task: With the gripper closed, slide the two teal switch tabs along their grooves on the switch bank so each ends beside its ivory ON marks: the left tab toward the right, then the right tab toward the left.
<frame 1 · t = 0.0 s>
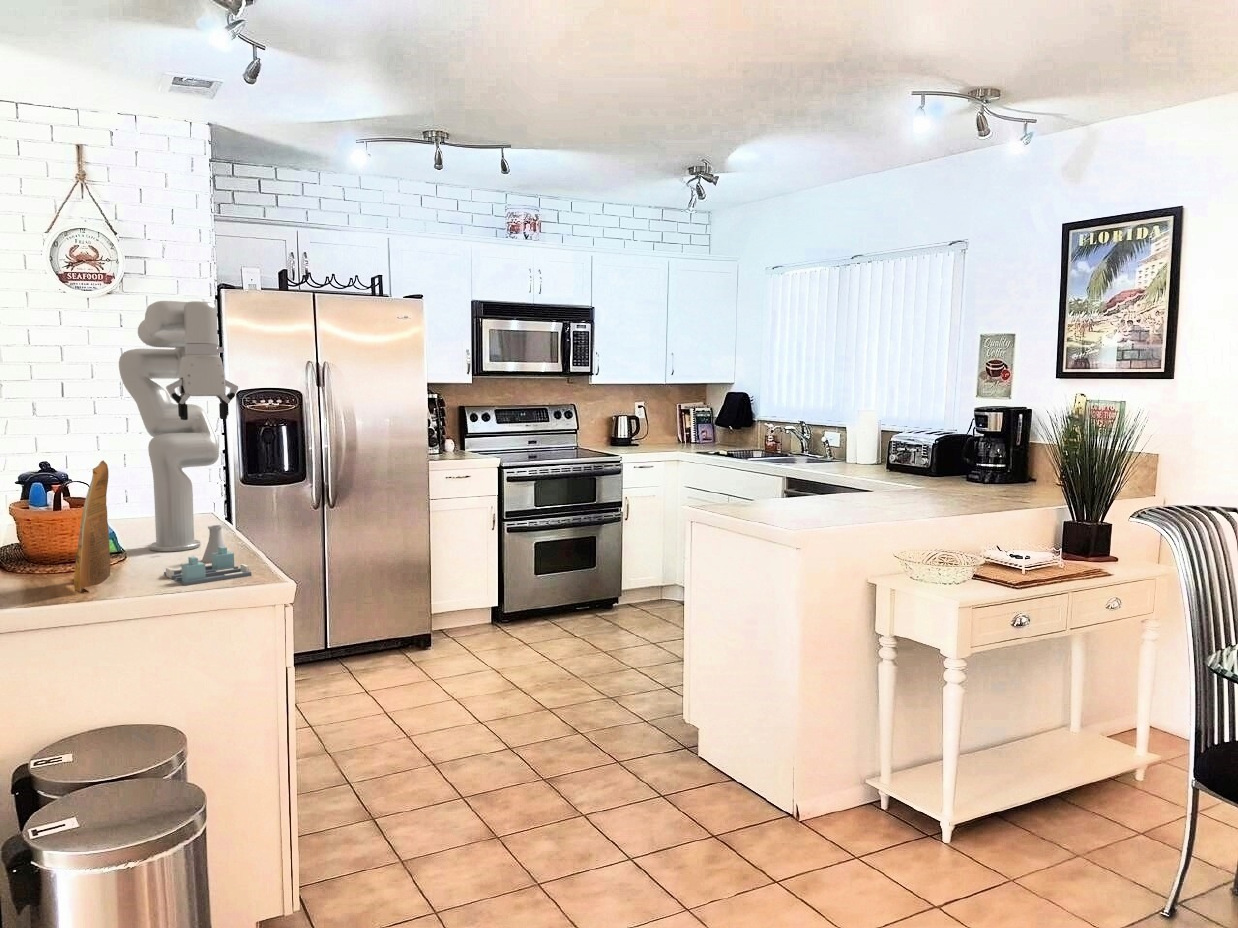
hand: (204, 419, 227), 37 cm above the countertop, tool pointing down, fingers open, 9 cm apart
flask: (216, 565, 227), on the countertop
pancake mix bag: (96, 585, 204), on the countertop
tab b: (193, 569, 204), point 4 cm above the countertop, slide at 0.0 cm
switch bank: (207, 580, 210), on the countertop
tab a: (222, 558, 216), point 4 cm above the countertop, slide at 0.0 cm
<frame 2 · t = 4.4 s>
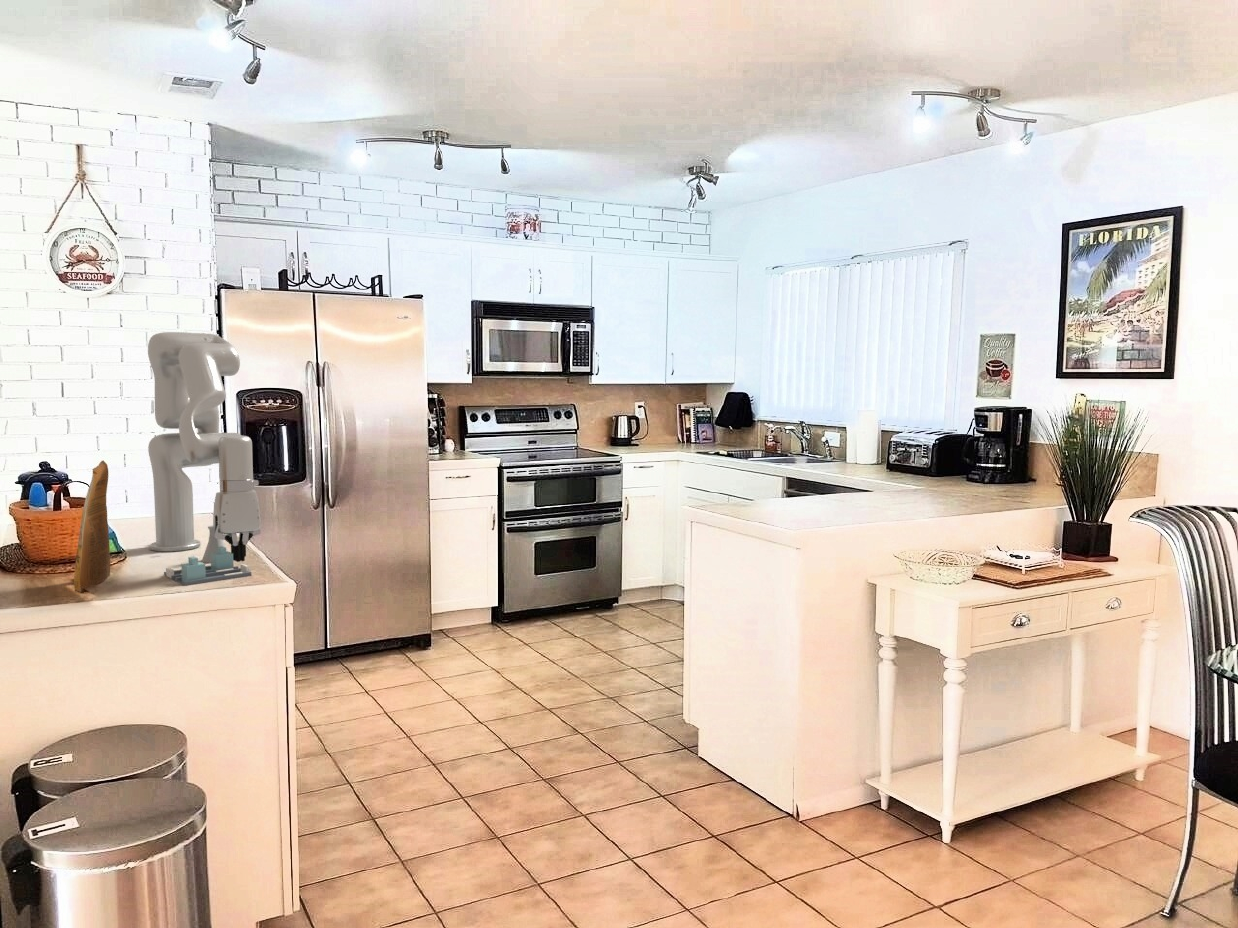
hand: (238, 560, 219), 3 cm above the countertop, tool pointing down, fingers closed
tab a: (222, 558, 216), point 4 cm above the countertop, slide at 0.2 cm, touching gripper
everything else where it was.
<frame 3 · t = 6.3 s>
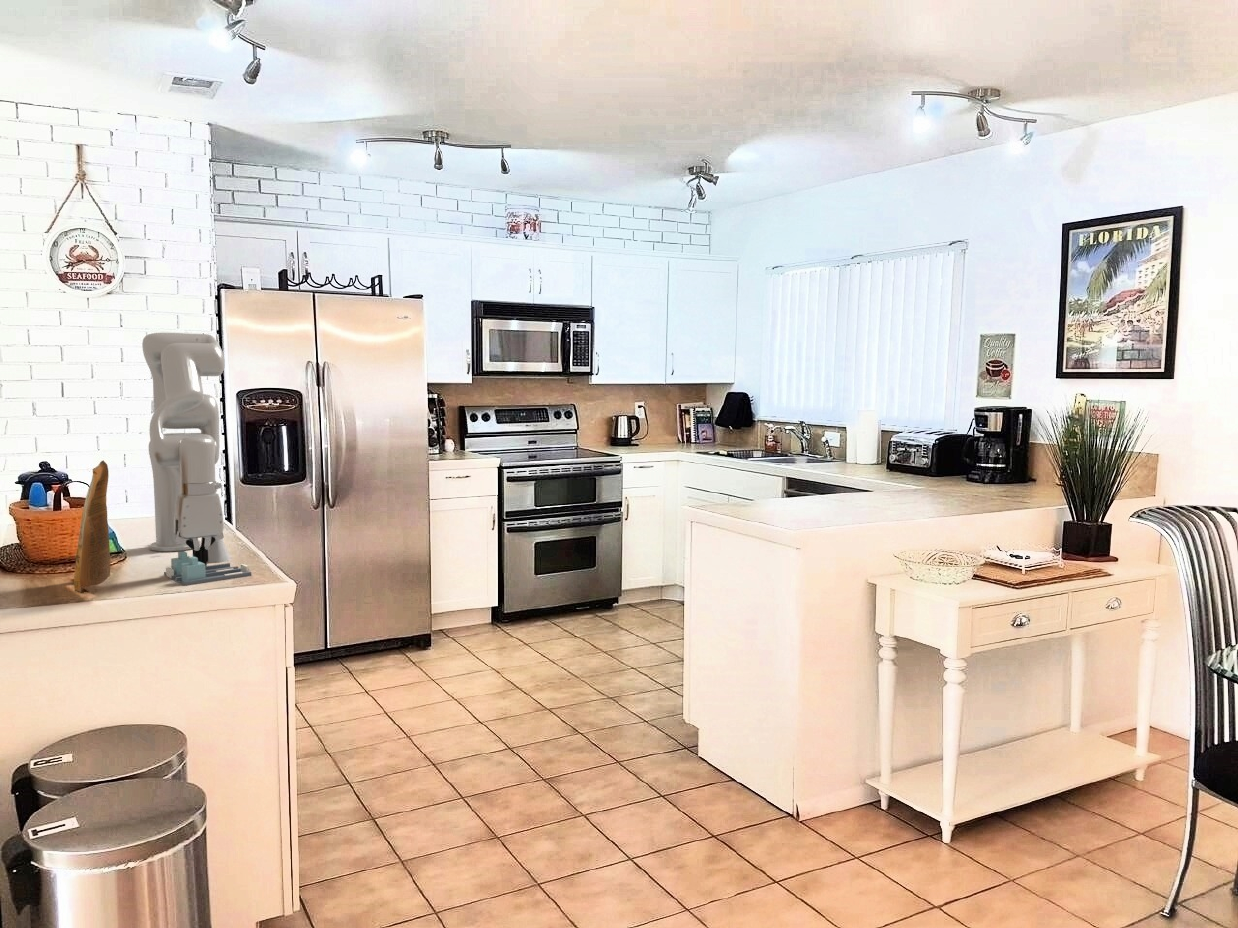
hand: (200, 565, 212), 3 cm above the countertop, tool pointing down, fingers closed
tab a: (183, 563, 209), point 4 cm above the countertop, slide at 9.2 cm, touching gripper
everything else where it was.
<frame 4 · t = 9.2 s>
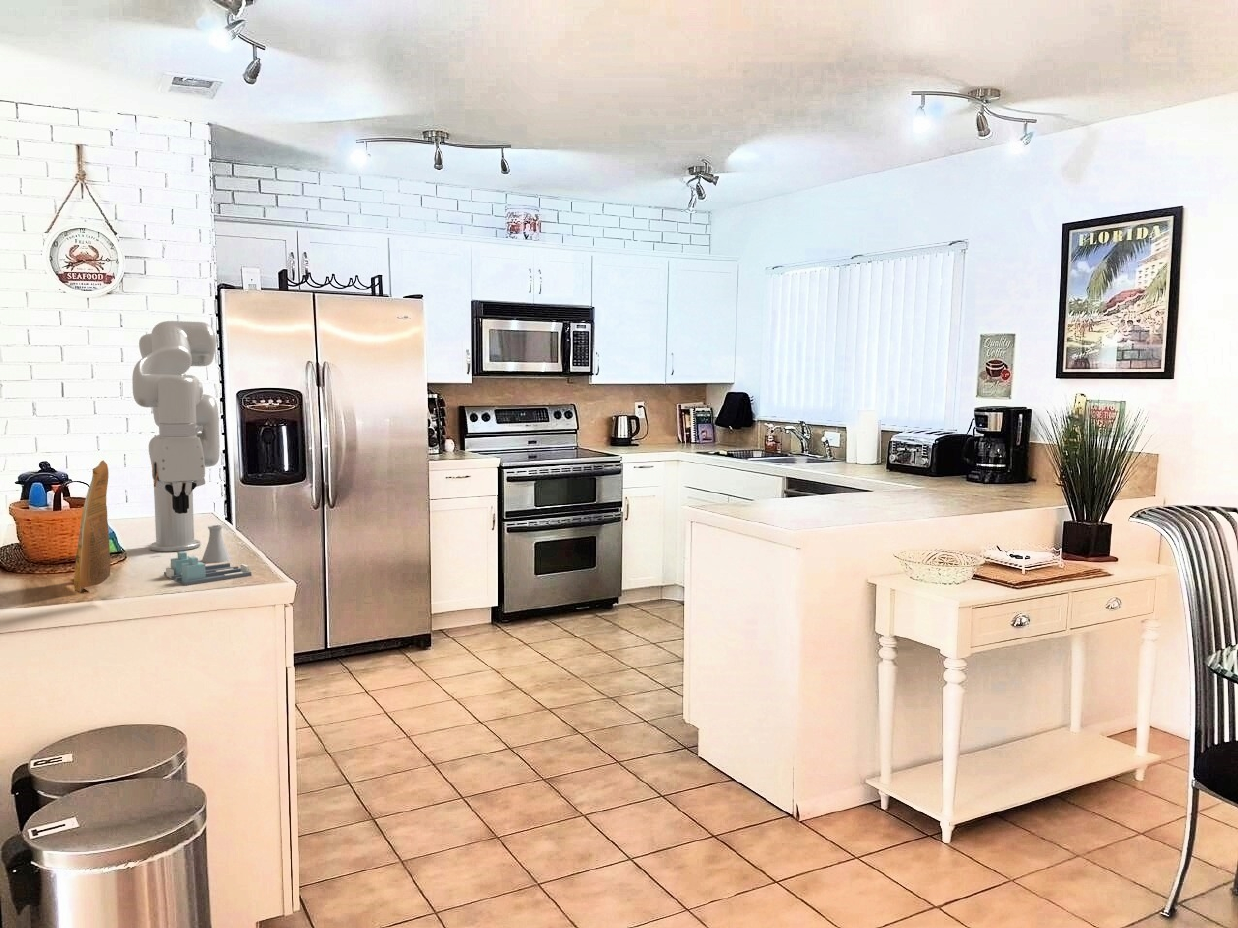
hand: (181, 512, 201), 17 cm above the countertop, tool pointing down, fingers closed
tab a: (182, 563, 209), point 4 cm above the countertop, slide at 9.3 cm
everything else where it was.
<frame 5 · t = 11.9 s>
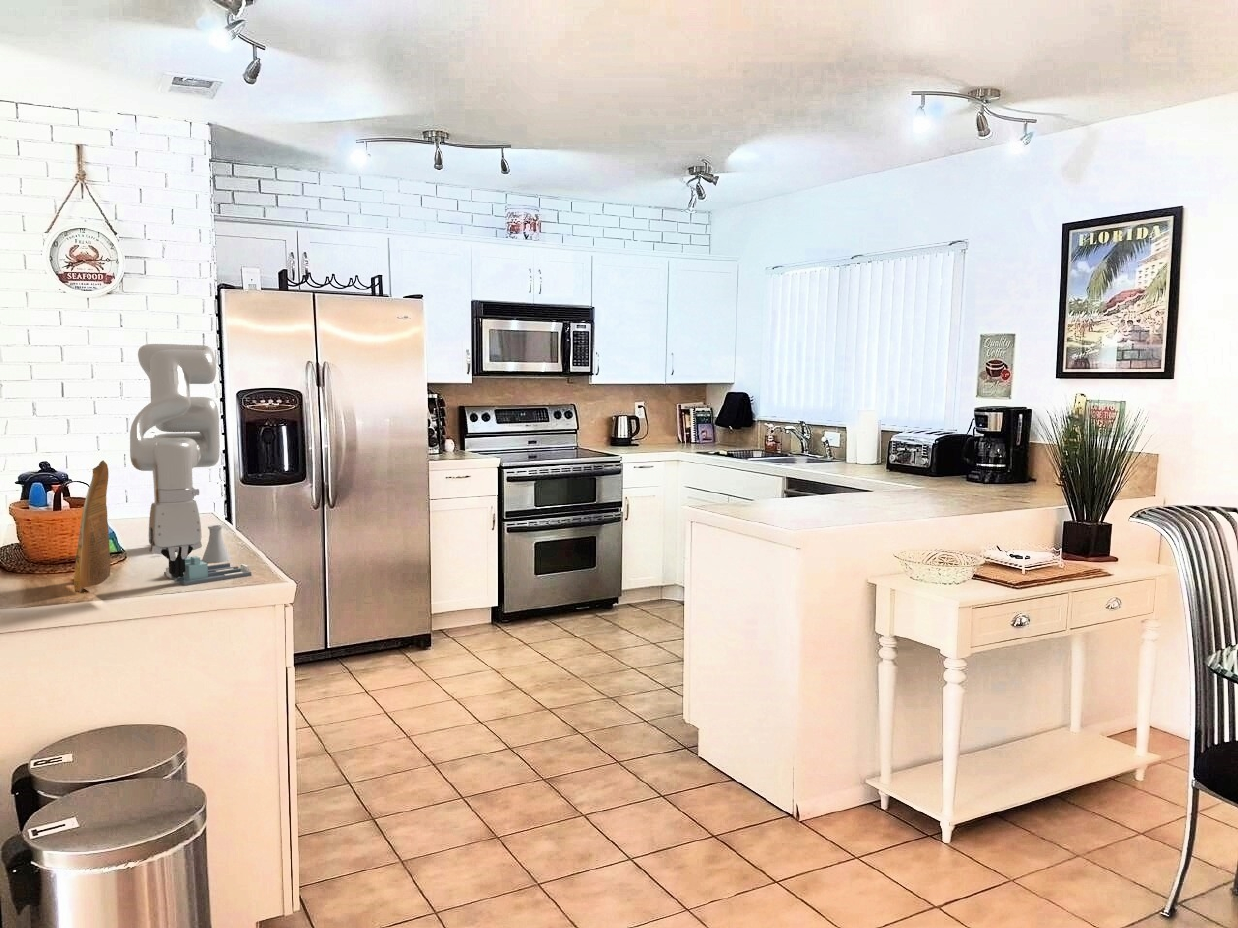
hand: (177, 576, 202), 3 cm above the countertop, tool pointing down, fingers closed
tab b: (195, 568, 204), point 4 cm above the countertop, slide at 0.5 cm, touching gripper
everything else where it was.
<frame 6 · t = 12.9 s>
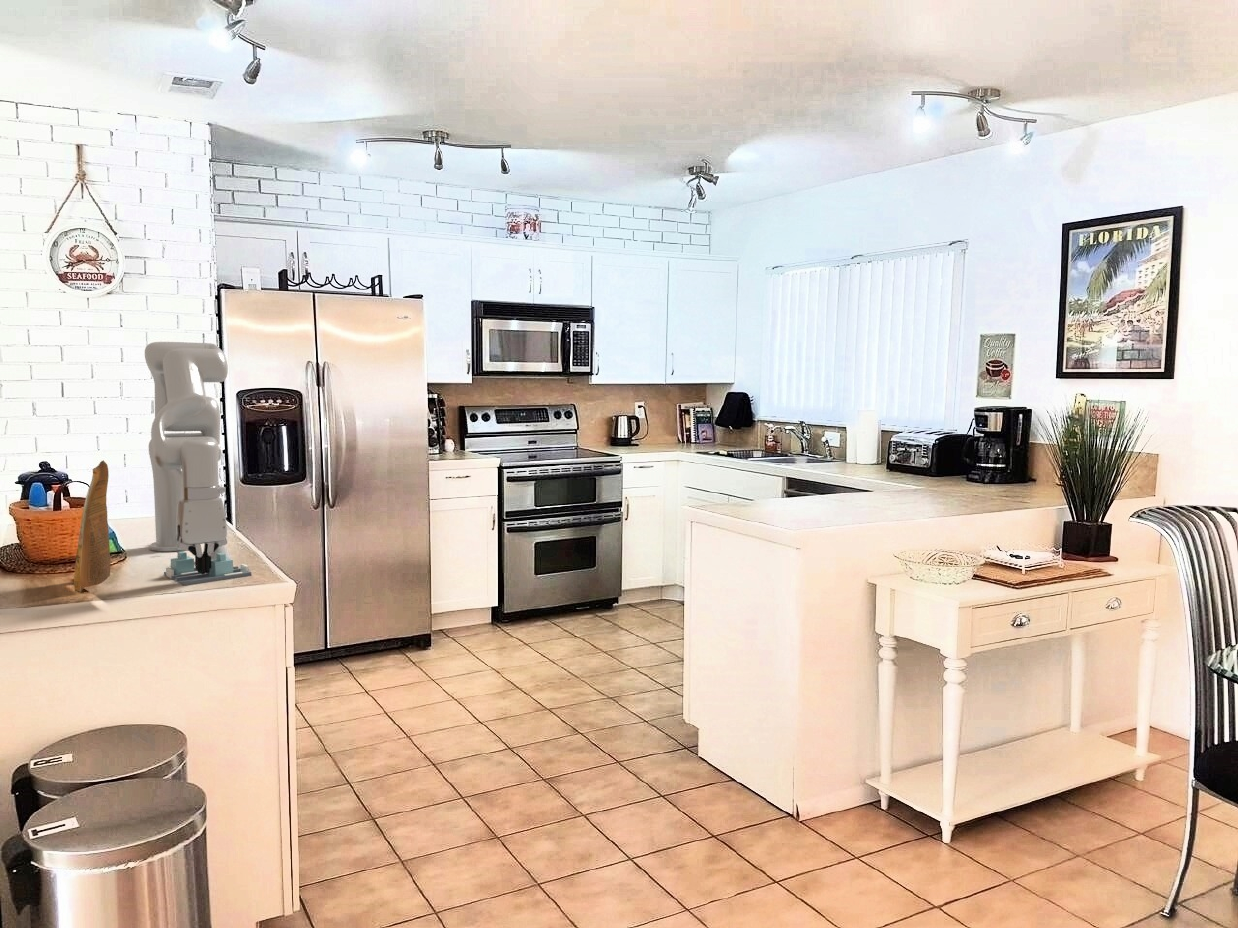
hand: (203, 572, 206), 3 cm above the countertop, tool pointing down, fingers closed
tab b: (221, 565, 208), point 4 cm above the countertop, slide at 6.2 cm, touching gripper
everything else where it was.
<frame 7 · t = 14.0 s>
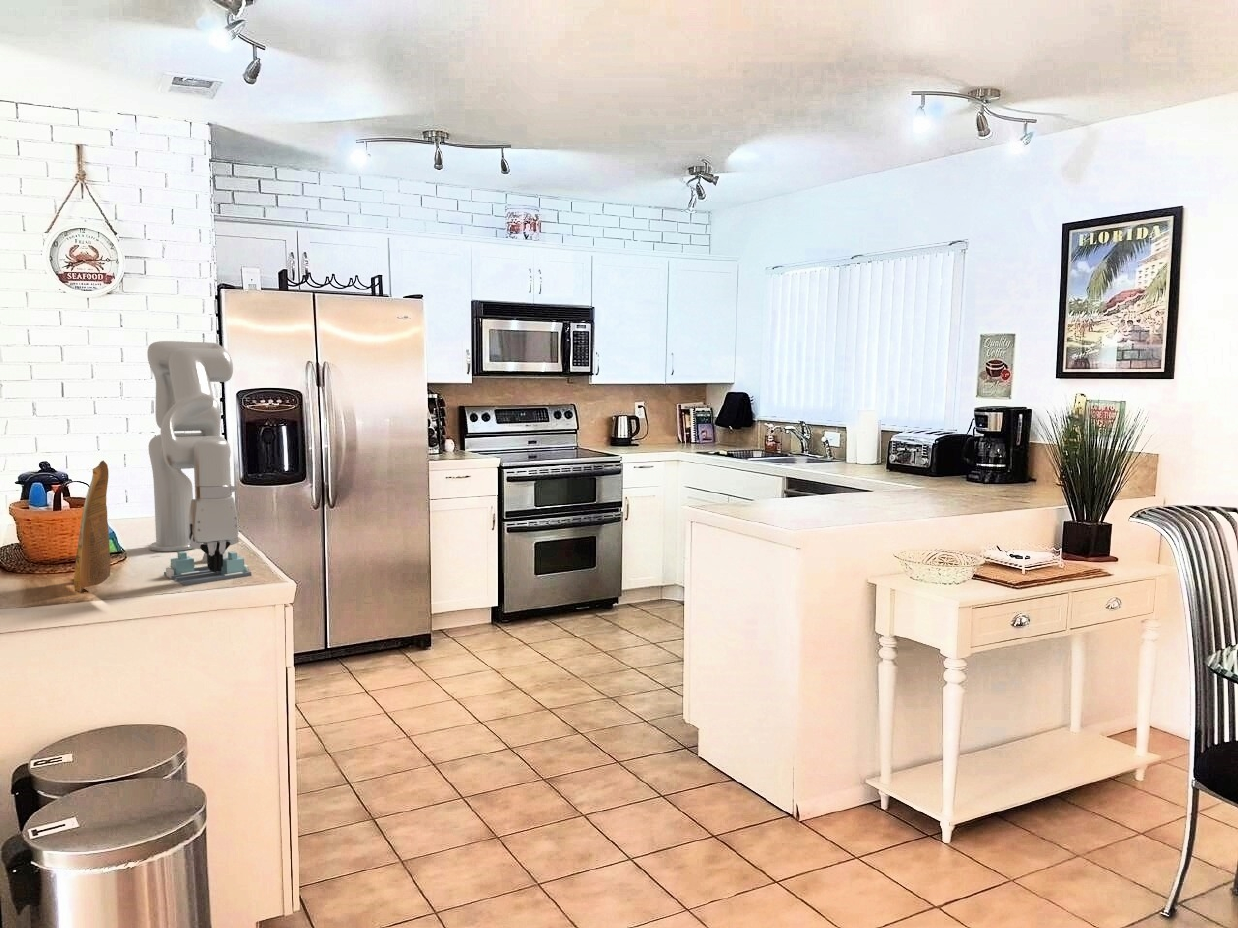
hand: (215, 570, 207), 3 cm above the countertop, tool pointing down, fingers closed
tab b: (232, 563, 210), point 4 cm above the countertop, slide at 8.9 cm, touching gripper
everything else where it was.
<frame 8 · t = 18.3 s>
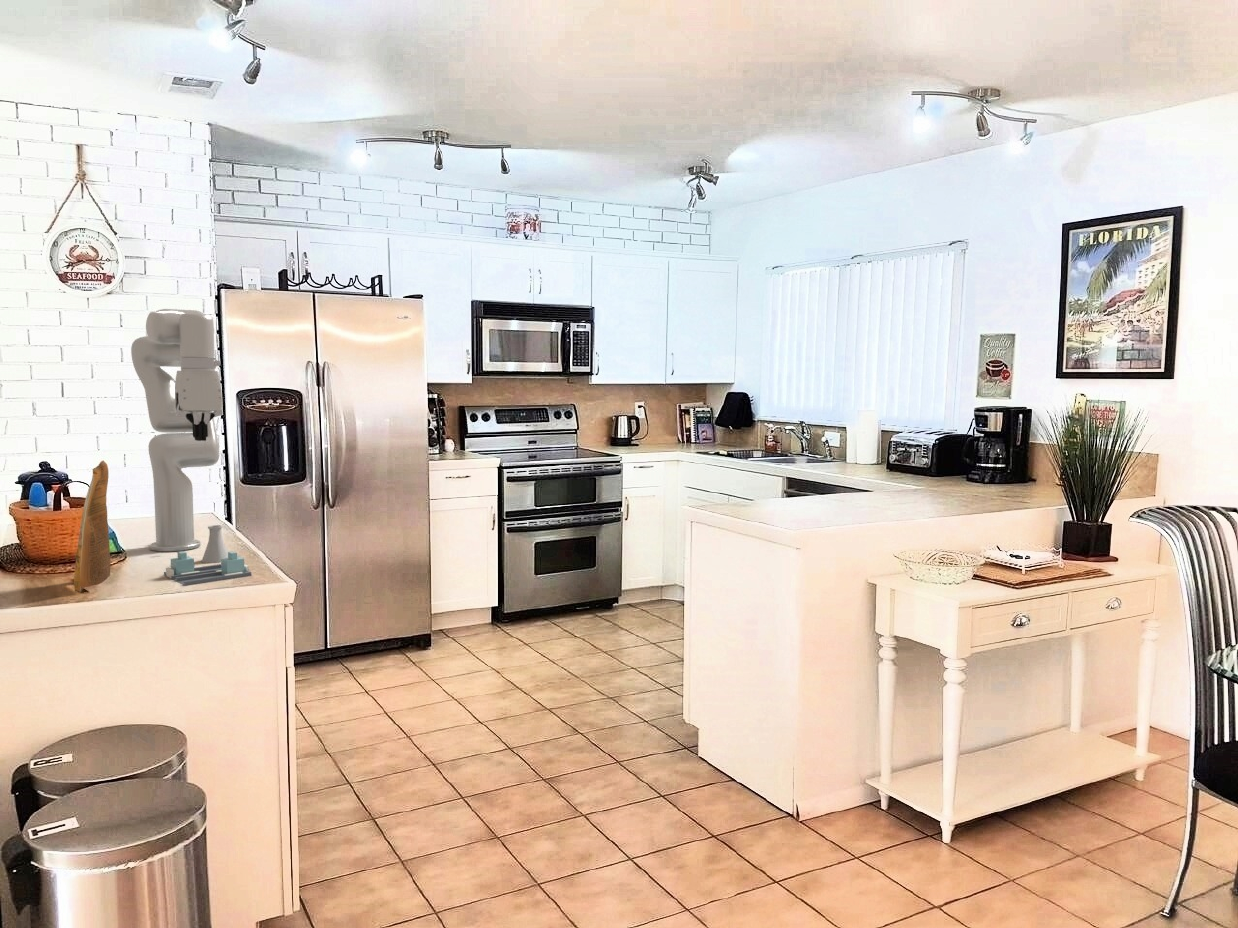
hand: (200, 440, 219), 32 cm above the countertop, tool pointing down, fingers closed
tab b: (232, 563, 210), point 4 cm above the countertop, slide at 8.9 cm
everything else where it was.
at the end: tab a slide at 9.3 cm; tab b slide at 8.9 cm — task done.
